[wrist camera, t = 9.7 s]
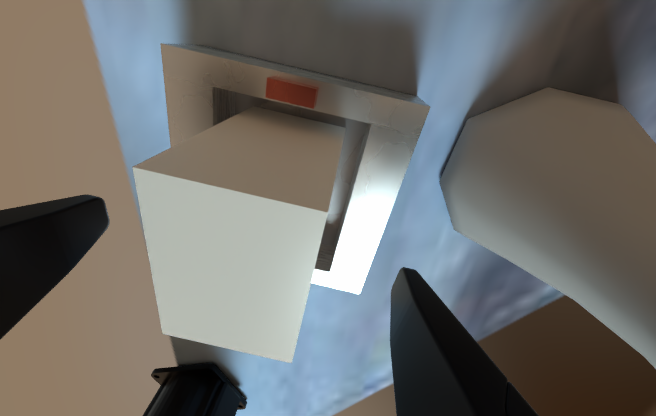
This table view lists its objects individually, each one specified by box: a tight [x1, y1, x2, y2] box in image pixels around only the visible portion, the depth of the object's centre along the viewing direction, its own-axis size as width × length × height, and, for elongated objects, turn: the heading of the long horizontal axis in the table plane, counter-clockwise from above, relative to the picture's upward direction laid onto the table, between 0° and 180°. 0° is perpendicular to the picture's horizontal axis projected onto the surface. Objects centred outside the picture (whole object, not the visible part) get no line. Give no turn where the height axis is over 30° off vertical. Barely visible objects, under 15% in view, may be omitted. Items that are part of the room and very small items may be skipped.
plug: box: [133, 106, 346, 363], centre depth 10 cm, size 6×4×7 cm
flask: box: [439, 87, 656, 368], centre depth 8 cm, size 7×7×10 cm
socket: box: [161, 43, 430, 294], centre depth 12 cm, size 9×9×3 cm
